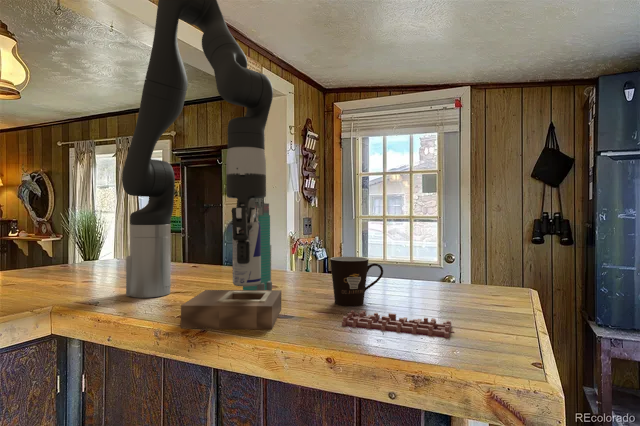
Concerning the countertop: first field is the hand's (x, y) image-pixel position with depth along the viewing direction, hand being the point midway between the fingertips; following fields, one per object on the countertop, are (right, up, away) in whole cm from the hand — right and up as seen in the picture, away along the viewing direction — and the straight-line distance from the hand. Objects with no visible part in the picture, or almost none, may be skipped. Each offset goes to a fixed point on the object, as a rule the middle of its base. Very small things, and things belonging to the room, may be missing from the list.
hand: (246, 261), depth 77 cm
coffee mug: (+22, -11, +13) cm, 28 cm away
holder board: (-2, -11, 0) cm, 11 cm away
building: (-1, -11, +21) cm, 24 cm away
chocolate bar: (+28, -12, -5) cm, 31 cm away
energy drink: (0, -5, 0) cm, 5 cm away
